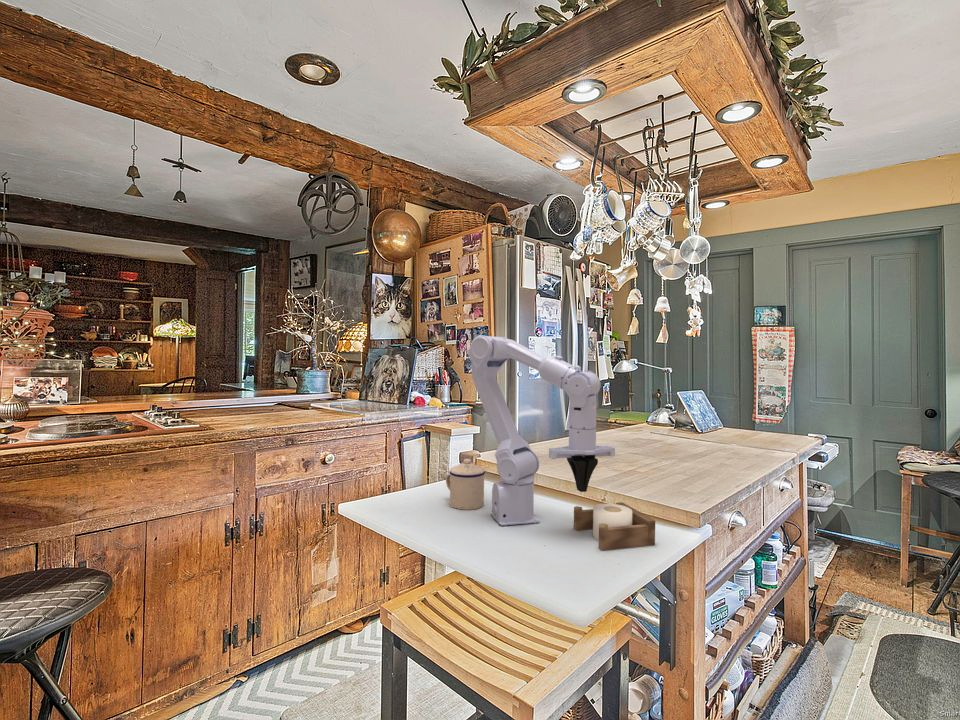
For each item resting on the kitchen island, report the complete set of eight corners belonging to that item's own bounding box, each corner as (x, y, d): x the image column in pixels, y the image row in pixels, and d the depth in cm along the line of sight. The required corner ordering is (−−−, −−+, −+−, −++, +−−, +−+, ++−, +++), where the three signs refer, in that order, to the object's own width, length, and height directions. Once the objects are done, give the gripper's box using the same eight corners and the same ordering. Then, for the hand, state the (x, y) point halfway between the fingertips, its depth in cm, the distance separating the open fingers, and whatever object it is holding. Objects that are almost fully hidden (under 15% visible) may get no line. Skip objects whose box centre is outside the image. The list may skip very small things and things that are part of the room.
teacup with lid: (492, 504, 124) (492, 459, 124) (467, 513, 118) (468, 465, 117) (458, 495, 132) (459, 452, 132) (433, 502, 126) (434, 457, 125)
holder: (601, 551, 96) (601, 526, 96) (572, 528, 108) (572, 505, 108) (655, 545, 99) (656, 521, 99) (621, 523, 112) (621, 501, 112)
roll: (604, 546, 99) (605, 516, 98) (586, 532, 106) (586, 504, 106) (639, 543, 101) (640, 513, 100) (618, 529, 108) (619, 502, 108)
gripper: (558, 431, 99) (557, 498, 99) (622, 429, 102) (621, 493, 103) (545, 426, 106) (544, 488, 106) (606, 424, 109) (605, 484, 109)
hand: (581, 490), depth 105 cm, fingers closed
